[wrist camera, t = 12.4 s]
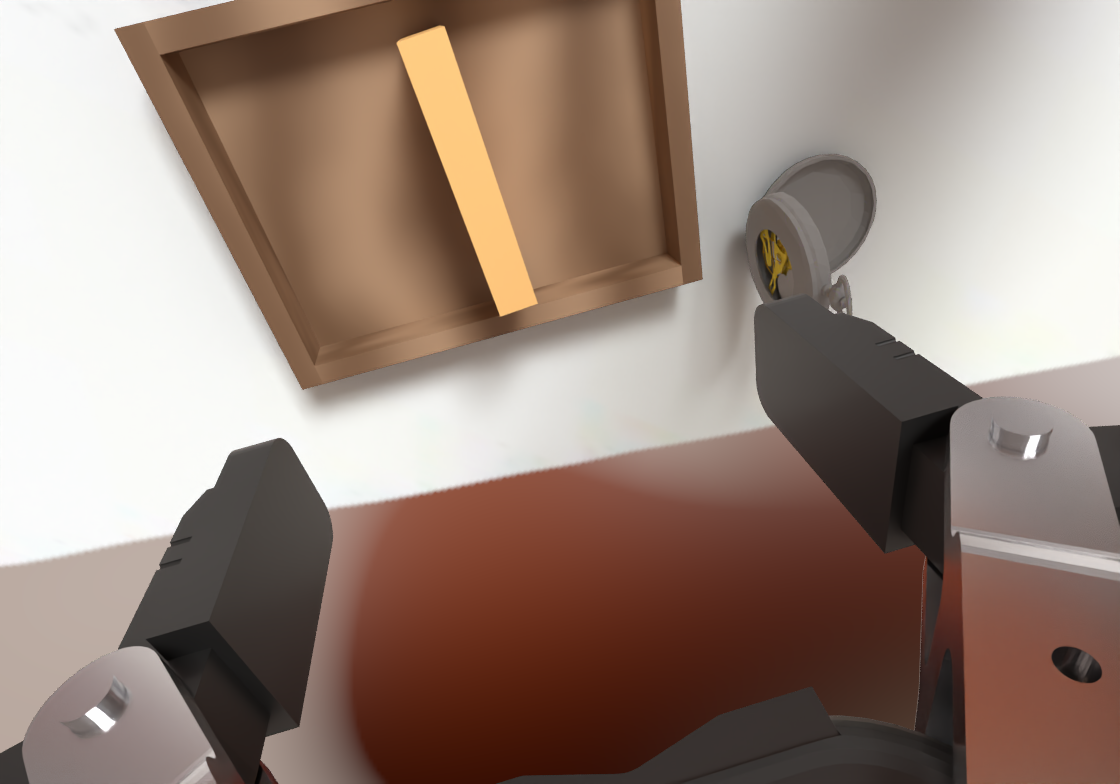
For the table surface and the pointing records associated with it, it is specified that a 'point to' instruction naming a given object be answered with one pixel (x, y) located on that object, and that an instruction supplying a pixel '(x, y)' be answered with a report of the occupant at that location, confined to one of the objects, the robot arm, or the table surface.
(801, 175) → the pocket watch
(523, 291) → the yellow rectangular block
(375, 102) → the tray
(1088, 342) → the table surface
